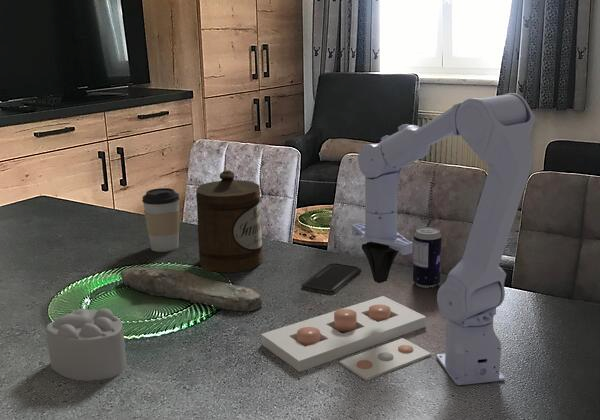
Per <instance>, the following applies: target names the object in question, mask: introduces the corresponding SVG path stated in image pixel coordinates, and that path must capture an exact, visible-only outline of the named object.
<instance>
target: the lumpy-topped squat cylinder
mask: <svg viewBox="0 0 600 420" xmlns="http://www.w3.org/2000/svg"><path fill="white" fill-rule="evenodd" d="M45 328H46V329H45V330H46V338H47V344H48V345H47V346H48V352H49V359H50V366H51V367H50V368H51V370H53V371H54V372H56V373H58V374H60V375H61V376H62V377H63V376H64V377H65V378H68V379H71V380H74V381H100V380H107V379H111V378H114V377H116V376H118V375H120V374H121V373H123V372H124V371H125V370H126V367H127V365H128V363H127V354H126V344H125V333H124V326H123V322H122V320H121V319H120V318H119V317H118V316H116V315H114V313H113V312H112V311H111V309H108V308H107V307H106V308H105V307H104V308H103V307H102V308H100V309H93V308H91V309H86V308H78V309H76V310H75V311H71V313H70V312H69V313H68V314H65V315H61V316H59V317H58V318H56V319H55V320H53V321H51V322H50V323H48V324H47V325H46V327H45Z"/></svg>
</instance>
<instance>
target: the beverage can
mask: <svg viewBox="0 0 600 420" xmlns="http://www.w3.org/2000/svg"><path fill="white" fill-rule="evenodd" d="M440 232H441V231H440V229H439V228H437V227H432V226H424V227H418V228H416V230H415V233H414V234H413V253H412V255H413V257H412V281H413V283H415V284H416V286H417V287H419V288H423V289H432V288H435V287H436V286H437V285H438V284H439V283H440V281H441V267H442V265H441V261H442V260H441V259H442V235H441V233H440ZM434 286H435V287H434ZM429 287H430V288H429ZM431 287H432V288H431Z"/></svg>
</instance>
